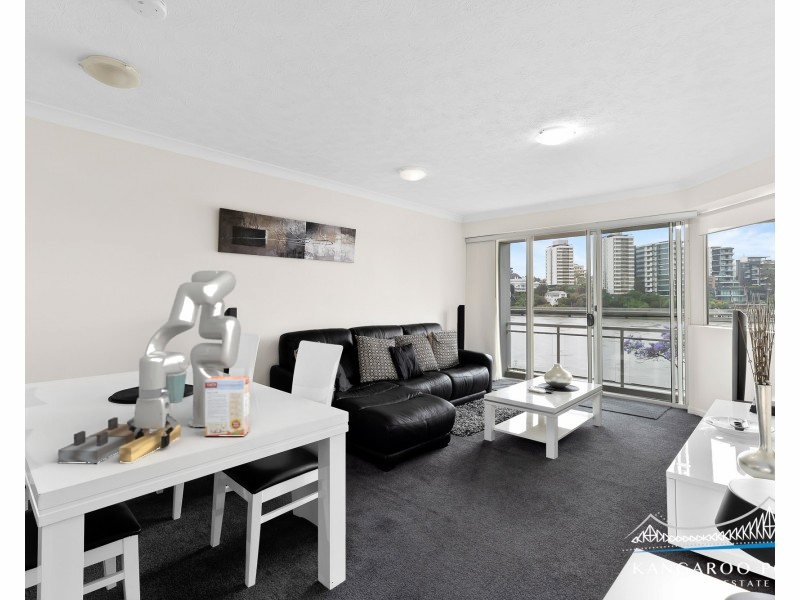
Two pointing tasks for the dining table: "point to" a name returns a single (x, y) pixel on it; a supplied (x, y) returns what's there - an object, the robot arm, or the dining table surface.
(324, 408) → the dining table surface
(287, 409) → the dining table surface
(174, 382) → the disposable coffee cup
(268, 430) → the dining table surface
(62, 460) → the door and jamb
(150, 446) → the bar
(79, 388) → the dining table surface
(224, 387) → the cracker box
